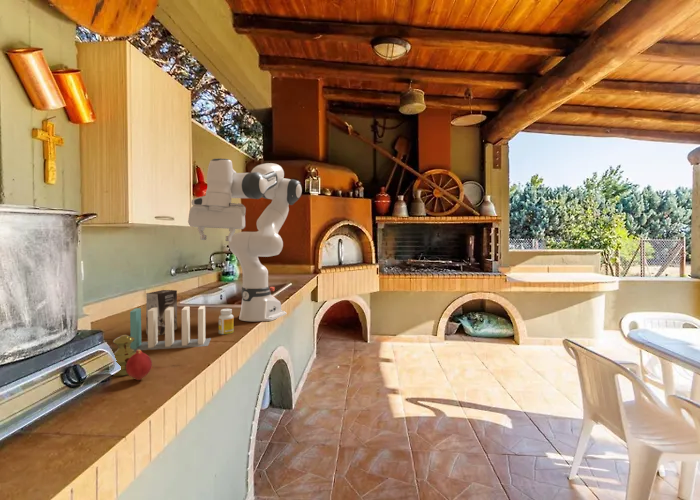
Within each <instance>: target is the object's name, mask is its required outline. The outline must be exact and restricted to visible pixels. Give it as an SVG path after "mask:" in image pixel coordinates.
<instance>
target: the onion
mask: <svg viewBox="0 0 700 500" xmlns="http://www.w3.org/2000/svg"><path fill="white" fill-rule="evenodd" d="M152 362H153V361H152V359H151V357H150V356H149V355H148V354H147V353H145V352H143V350H137V351H136V353H135V354H134V355H132V356H131V357H130V358H129V360H128V361H127V364H126V372H127V373H128V375H127V376H130V377H131V378H133V379H135V380H136V381H141V380H142V379H144V378H145V377H146V376H147V375H148V374H150V372H151V370H152V366H153V363H152Z"/></svg>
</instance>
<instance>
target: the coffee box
mask: <svg viewBox="0 0 700 500" xmlns="http://www.w3.org/2000/svg"><path fill="white" fill-rule="evenodd" d="M145 294H146V295H145V297H146V301H145V302H146V303H145V305H146V309H145V310H146V313H145V314H146V315H145V317H146V320H145V321H146V322H145V323H146V325H145V326H146V330H145V334H146V335H148V310H150V309H151V308H158V336H162V335H165V310H166V309H167V308H168V307H174V331H176V330H177V329H178V290H173V289H165V290H164V289H162V290H156V291H151V292H147V293H145Z"/></svg>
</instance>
